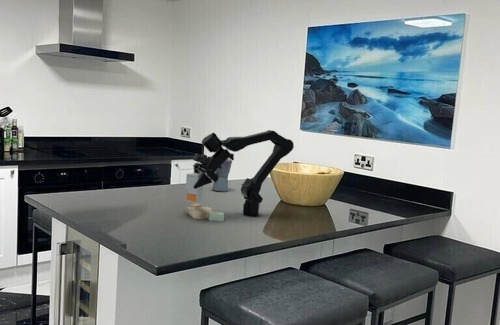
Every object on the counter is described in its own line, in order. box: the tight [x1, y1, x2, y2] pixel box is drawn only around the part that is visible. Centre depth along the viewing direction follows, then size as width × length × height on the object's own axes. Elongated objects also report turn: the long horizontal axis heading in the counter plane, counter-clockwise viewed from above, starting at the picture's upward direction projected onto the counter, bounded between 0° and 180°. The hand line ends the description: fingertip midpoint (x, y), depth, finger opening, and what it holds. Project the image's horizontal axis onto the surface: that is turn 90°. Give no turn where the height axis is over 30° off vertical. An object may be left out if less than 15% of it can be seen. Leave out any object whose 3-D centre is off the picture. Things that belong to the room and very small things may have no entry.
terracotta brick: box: [189, 203, 202, 207], centre depth 217 cm, size 6×3×3 cm, turn 163°
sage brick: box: [207, 211, 225, 222], centre depth 205 cm, size 6×3×3 cm, turn 102°
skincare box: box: [184, 172, 204, 204], centre depth 207 cm, size 6×4×12 cm
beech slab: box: [186, 206, 217, 220], centre depth 210 cm, size 10×10×2 cm
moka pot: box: [211, 158, 233, 193], centre depth 269 cm, size 10×15×20 cm, turn 148°
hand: (191, 186), depth 206 cm, fingers closed on skincare box, 7 cm apart
